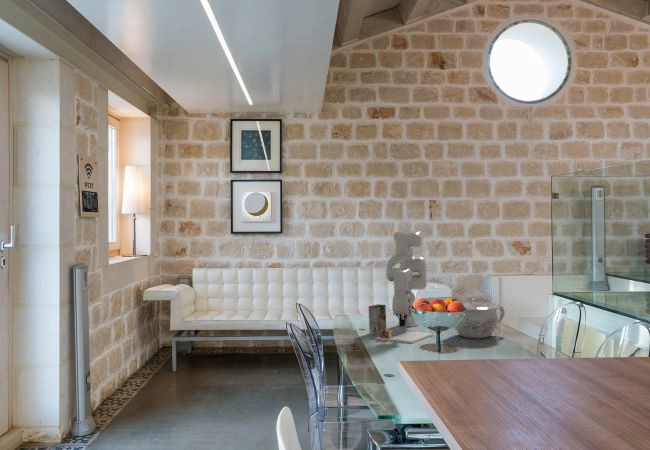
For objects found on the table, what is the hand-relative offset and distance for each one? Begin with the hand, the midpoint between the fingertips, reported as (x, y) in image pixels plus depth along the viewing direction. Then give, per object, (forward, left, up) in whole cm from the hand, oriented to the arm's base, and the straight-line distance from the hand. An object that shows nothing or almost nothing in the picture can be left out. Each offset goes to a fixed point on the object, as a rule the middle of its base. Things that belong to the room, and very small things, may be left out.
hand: (402, 326), depth 297 cm
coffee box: (-9, -22, -8) cm, 25 cm away
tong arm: (-2, -6, -6) cm, 9 cm away
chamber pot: (-27, +30, -8) cm, 41 cm away
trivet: (-5, -2, -7) cm, 9 cm away
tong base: (-4, -8, -6) cm, 11 cm away
